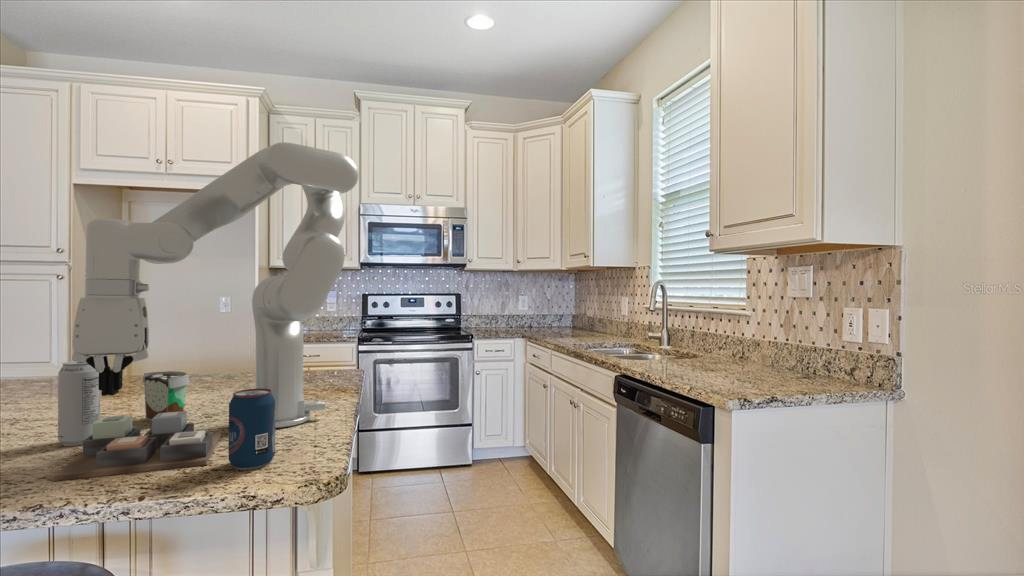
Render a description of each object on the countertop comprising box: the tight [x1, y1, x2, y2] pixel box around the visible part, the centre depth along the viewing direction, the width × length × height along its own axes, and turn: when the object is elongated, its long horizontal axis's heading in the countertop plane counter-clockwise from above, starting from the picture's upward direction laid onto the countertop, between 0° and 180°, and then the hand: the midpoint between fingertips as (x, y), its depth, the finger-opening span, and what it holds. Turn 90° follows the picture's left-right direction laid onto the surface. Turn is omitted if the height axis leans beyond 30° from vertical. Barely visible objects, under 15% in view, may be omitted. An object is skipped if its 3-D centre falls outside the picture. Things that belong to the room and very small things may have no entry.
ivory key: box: [169, 429, 206, 445], centre depth 88 cm, size 4×4×3 cm
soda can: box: [228, 388, 276, 471], centre depth 85 cm, size 7×7×12 cm
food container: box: [142, 370, 191, 422], centre depth 112 cm, size 12×6×10 cm, turn 58°
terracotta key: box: [106, 435, 148, 451], centre depth 85 cm, size 4×4×3 cm
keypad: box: [52, 422, 223, 482], centre depth 89 cm, size 20×18×3 cm
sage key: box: [92, 414, 133, 439], centre depth 90 cm, size 4×4×3 cm
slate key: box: [151, 410, 188, 434], centre depth 94 cm, size 4×4×3 cm
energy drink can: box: [57, 360, 101, 447], centre depth 96 cm, size 6×6×15 cm
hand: (110, 393), depth 90 cm, fingers closed
